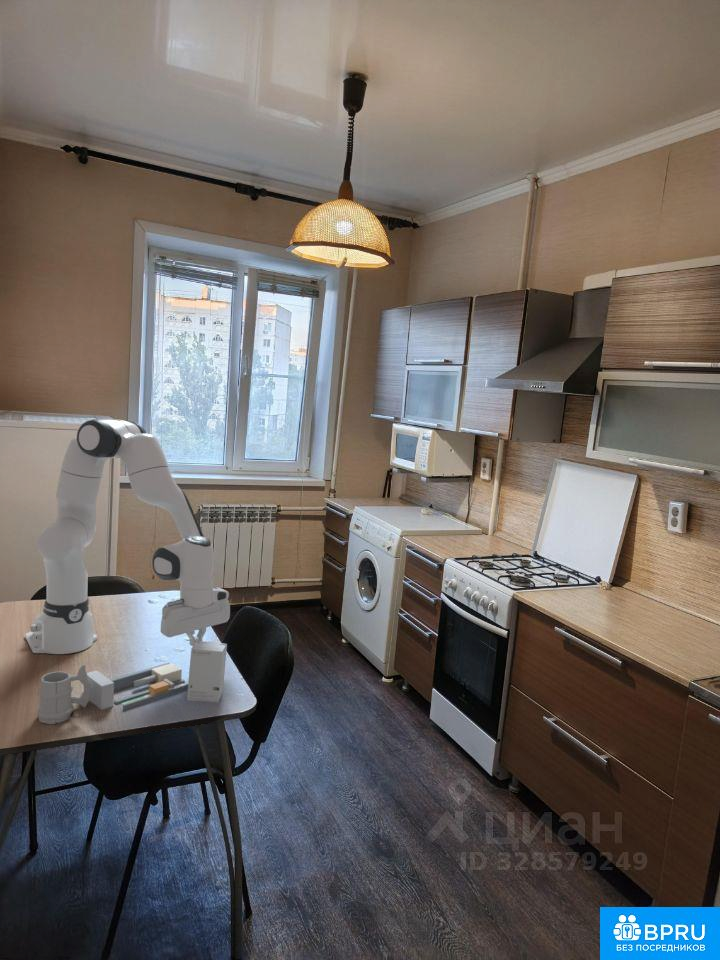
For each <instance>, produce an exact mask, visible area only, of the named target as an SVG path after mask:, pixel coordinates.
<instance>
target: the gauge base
mask: <svg viewBox="0 0 720 960" xmlns="http://www.w3.org/2000/svg"><path fill="white" fill-rule="evenodd" d="M167 664H171V663H170V662H166V663H163V664H160V665H156V666H152V667H149V668H145V669H142V670H137V671H135V672H131V673H127V674H124V675H120V676H118V677H113V678H108V677H106V676H105V675H104V674H103V673H101V672H100V671H98V670H97V669H96V670H93V671H90V672H87V675H88V678H89V680H90V683H91V686H92V692H91V699H90V701H89V702H90V703H92V704H93V705H95V706H96V707H97V708H98V709H99V710H101V711H103V710H105V709H109V708H111V707H114V703H115V704H116V705H118V704H121V705H122V710H123V711H126V710H130V709H131V708H135V707H138V706H141V705H144V704H148V703H149V702H150V703H151V702H153V701H157V700H159V699H162V698H166V697H169V696H170V695H171V696H172V695H174V694H178V693H181V692H184V691H188V683H186V684H185V682H186V681H185V680H184V679H183V678H181V680H178V681H175V682H172V683H174V688H173V689H170V688H169V690H167V691H164V692H161V693H158V694H155V695H152V696H151V695H149V689H146V690H144V691H139V692H136V693H133V694H131V695H127V696H124V697H120V698H117V699H114V695H115V693H114V692H115V691H117V690H120V689H124V688H128V687H132V686H134V681H136V680H139V679H142V678H146V677H149V676H151V672H152V669H153V668H157V667H160V666H164V665H167Z"/></svg>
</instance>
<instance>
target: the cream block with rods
mask: <svg viewBox="0 0 720 960" xmlns="http://www.w3.org/2000/svg"><path fill="white" fill-rule="evenodd" d="M182 672H183V669H182V668H180V667H179V666H177V665H176V664H174V663H172V662H171V663H170V664H167V665H164V666H160V667H157V668H153V669H152V672H151V676H149V677H146V678H142V679H139V680H136V681H134V685H133V687H135V688H138V687H141V686H144V685H147V684H150V683H153V682H154V684H156V683H159V682H162V681H164V682H166V683H167V684H169V688H170V689H173V688H174V683H172V682H175V681H178V680H181V679H182V677H183V676H182V674H183V673H182Z"/></svg>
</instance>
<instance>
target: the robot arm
mask: <svg viewBox="0 0 720 960" xmlns="http://www.w3.org/2000/svg"><path fill="white" fill-rule="evenodd" d="M109 459H120V460H122V462H123V463H124V465H125V467H126V468H125V469H126V472H127V476H128V480H129V484H130V487H131V489H132V491H133V494H134V496H135V497H136V498H138V500H140V501H141V502H143V503H146V504H148V505H150V506H155V507H158V508H161V509H163V510H165V511H166V512H168V513H169V514H170V515H171V517H172V518H173V521H174V522H175V526H176V527H177V531H178V532H179V535H180V537H181V539H182V540H180V541H178V542H175V543H171V544H167V545H164V546H161V547H159V548H157V549H156V550H155V551H154V553H153V556H152V558H151V559H152V560H151V565H152V570H153V572H154V574H155V576H157V577H158V578H160V580H163V581H179V583H180V588H179V589H180V590H179V599H176V600H173V601H171V600H170V601H168V602H166V604H165V605H164V606H163V607H162V609H161V610H162V611H161V612H162V613H161V621H160V633H161V634H162V635H163V636H165V637H167V638H172V637H176V636H180V635H184V634H186V635H187V637H188V639H189V645H190V646H192V647H193V645H194V644H195V642H196V641H203V638H204V636H205V634H206V632H207V628H209V627H213V626H216V625H221V624H224V623H228V621H229V619H230V616H231V605H230V600H229V597H230V593H229V591H228V590H225V589H223V588H220V587H217V586H214V585H215V584H214V580H213V574H214V571H215V553H214V552H215V550H214V546H213V544H212V541H211V540H210V539H209V538H207V537H206V536H205V535H204V533H203V531H202V529H201V527H200V524H199V522H198V520H197V517H196V515H195V512H194V511H193V509H192V506H191V503H190V501H189V499H188V497H187V495H186V493H185V491H184V490H183V489H182V488H181V487H180V486H179V485H178V484H177V483H176V481H175V479H174V478H173V476H172V473H171V471H170V467H169V464H168V459H167V458H166V455H165V453H164V450H163V448H162V446H161V443H160V442H159V440H158V438H157V437H156V436H155V435H153V434H151V433H147V430H145V428H144V427H143V426H141V425H140V424H138V423H136V422H134V421H129V420H128V421H127V420H123V419H118V418H117V419H116V418H112V419H111V418H110V419H106V418H105V419H101V418H93V419H90V420H86V421H85V422H83V423H82V424H81V425H80V426H79V428H78V430H77V433H76V436H74V437H73V438H72V439H71V440H70V442H69V443H68V446H67V449H66V451H65V454H64V457H63V461H62V464H61V468H60V473H59V477H58V483H57V487H56V493H55V497H56V500H57V518H56V520H55V521H54V522H52V523H50V524H48V525H47V526H45V527H44V528H43V530H41V533H40V534H39V536H38V538H37V541H36V547H37V551H38V553H39V554H40V555H41V557H42V560H43V564H44V569H45V574H46V575H45V577H46V598H45V599H44V600H45V601H44V603H43V609H42V612H41V613H40V614H39V615H38V616H36V617H35V618H34V621H33V624H30V627H29V628H30V631H29V632H26V633H25V635H24V639H25V640H26V643H27V644H28V646H29V647H30V650H31V651H32V653H34V654H51V655H67V654H68V655H69V654H73V653H79V652H82V651H85V650H86V649H89V648H90V647H92V645H93V643H94V642H95V641H97V640H98V635H97V634H95V633H94V619H93V618H94V616H93V614H92V613H91V612H90V611H89V608H90V599H89V597H88V583H89V582H88V581H89V580H88V579H89V578H88V577H89V574H88V571H87V570H86V568H85V563H84V558H83V553H84V549H85V548H86V547H88V546H89V545H90V544H91V543H92V541H93V540H94V538H95V536H96V534H97V533H96V532H97V525H96V521H97V520H96V518H97V501H98V495H99V491H100V486H101V482H102V477H103V472H104V466H105V464H106V462H107V460H109ZM195 631H198V632H197V634H196V636H194V635H195V633H196V632H195Z"/></svg>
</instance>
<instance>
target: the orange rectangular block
mask: <svg viewBox="0 0 720 960" xmlns="http://www.w3.org/2000/svg"><path fill="white" fill-rule="evenodd" d="M148 687H149V688H148V690H149V695H151V696H152V695H155V694H158V693H161V692H164V691H167V690H169V684H167V683H166V682H164V681H162V682H159V683H153V684H150V685H149V686H148Z"/></svg>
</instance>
